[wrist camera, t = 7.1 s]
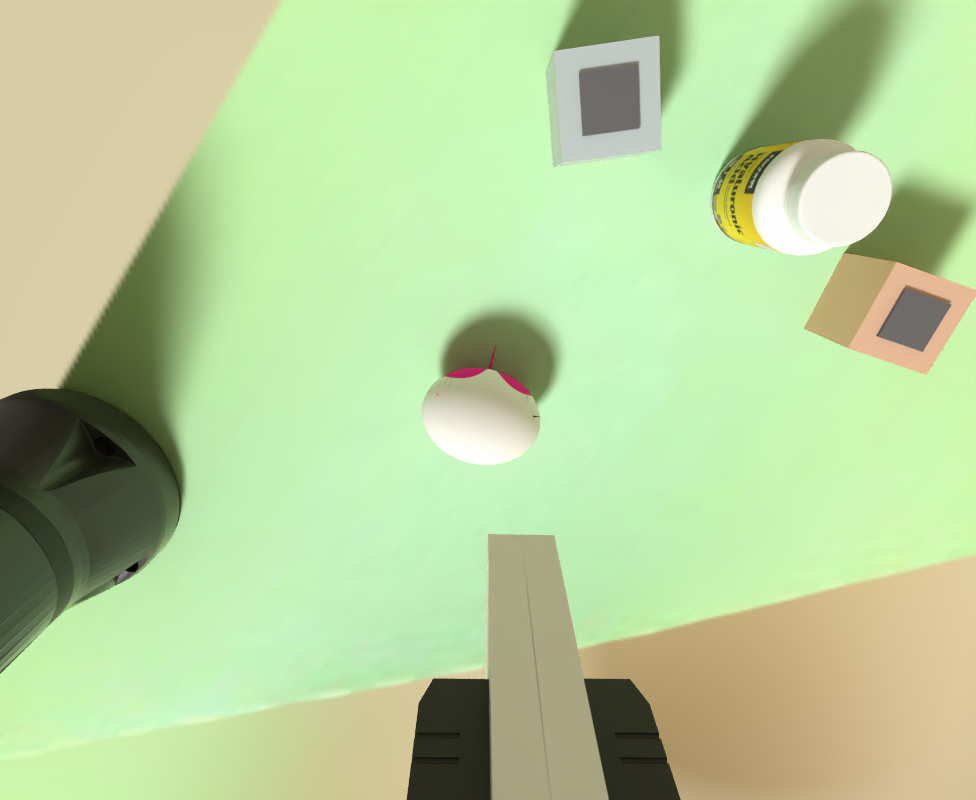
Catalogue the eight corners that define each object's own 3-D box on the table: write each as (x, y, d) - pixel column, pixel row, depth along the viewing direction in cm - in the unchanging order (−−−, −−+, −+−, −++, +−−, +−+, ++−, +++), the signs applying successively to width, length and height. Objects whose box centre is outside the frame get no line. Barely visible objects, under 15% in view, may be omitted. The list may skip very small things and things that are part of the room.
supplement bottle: (720, 141, 33) (807, 122, 24) (811, 154, 33) (933, 139, 24) (696, 237, 35) (768, 254, 25) (783, 249, 35) (885, 270, 26)
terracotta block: (803, 328, 36) (850, 349, 32) (843, 252, 35) (899, 262, 30) (872, 351, 37) (928, 375, 32) (914, 278, 35) (981, 291, 30)
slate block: (553, 167, 33) (562, 162, 29) (545, 71, 32) (554, 49, 27) (638, 155, 33) (662, 149, 28) (635, 58, 31) (660, 34, 27)
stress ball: (537, 373, 41) (563, 343, 35) (517, 480, 39) (541, 471, 33) (435, 348, 40) (443, 314, 34) (410, 457, 38) (413, 443, 32)
